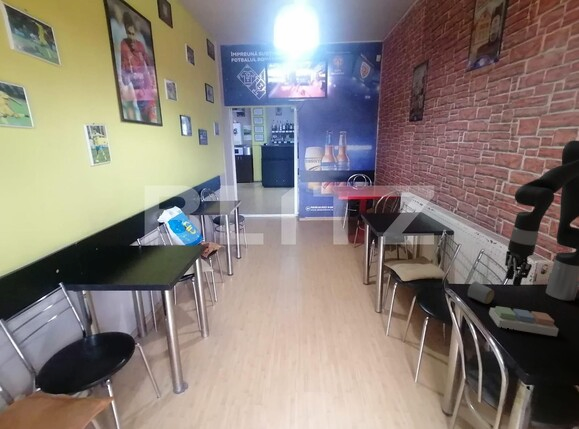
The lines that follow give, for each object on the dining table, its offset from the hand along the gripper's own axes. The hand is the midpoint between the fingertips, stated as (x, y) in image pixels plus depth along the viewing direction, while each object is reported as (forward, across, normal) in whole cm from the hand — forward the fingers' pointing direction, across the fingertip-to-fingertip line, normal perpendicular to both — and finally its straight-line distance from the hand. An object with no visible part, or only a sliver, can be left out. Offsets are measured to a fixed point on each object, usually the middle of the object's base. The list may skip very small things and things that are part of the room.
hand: (512, 281), depth 110 cm
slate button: (+15, 0, -6) cm, 16 cm away
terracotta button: (+15, 0, -12) cm, 20 cm away
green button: (+15, 0, 0) cm, 15 cm away
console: (+18, 0, -6) cm, 19 cm away
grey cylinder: (+18, +17, +2) cm, 25 cm away
